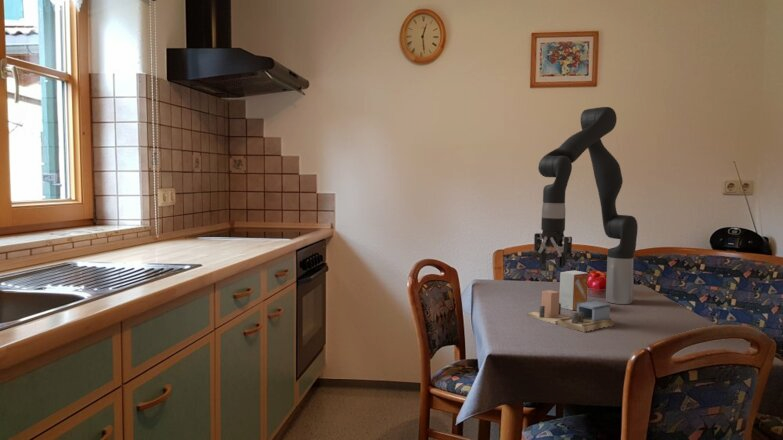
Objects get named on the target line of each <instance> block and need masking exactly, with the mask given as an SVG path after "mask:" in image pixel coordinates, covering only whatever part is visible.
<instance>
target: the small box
mask: <svg viewBox="0 0 783 440" xmlns="http://www.w3.org/2000/svg"><path fill="white" fill-rule="evenodd" d="M559 275H560V277H559V292H560V293H559V303H560V304H561V308H562V309H565V310H570V311H577V303H582V302H587V301H588V290H589V288H588V286H589V273H588V272H586V271H585V272H584V271H581V270H580V271H579V270H568V271H561V272H560V274H559Z"/></svg>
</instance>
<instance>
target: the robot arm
mask: <svg viewBox="0 0 783 440" xmlns="http://www.w3.org/2000/svg"><path fill="white" fill-rule="evenodd" d="M617 119H618V118H617V113H616V111H615V109H614V108H612V107H610V106H601V107H594V108H593V107H592V108H587V109H584V110H583V111H582V113H581V114H580V128H581V130H579V131H578V132H576V133H574V134H573V135H570V137H568V138H567V139H565V141H564V142H563V143H561V144H560V146H558V147H557V148H555V149H553V150H552V151H549V152H547V153H546V154H545V155H544V156H543V157H542V158H541V159H540V160H539V162H538V166H537V167H538V169H537V170H538V172H539V173H540V175H541V176H542V177H544V178H554V182H553V183H551V184H547V185H545V186H544V187H543V193H542V207H541V224H540V226H541V227H540V229H541V231H542V233H541V232H537V233H534V237H533V239H534V240H533V241H534V242H533V243H534V251H535V252H538V255H539V256H538V257H539V259H538V261H539V264H540V265H542V266H543V265H544V266H545V265H546V264H547V253H546V252H548V250H549V248H553V249H555V251H556V252H557V254H558V258H557V259H558V260H557V268H560V269H564V268H565V266H566V257H567V256H570V255H572V248H573V247H572V246H573V237H572V236H565V235H564V234H565V233H564V232H565V231H566V190H567V187H568V184H569V180H570V177H571V174H572V169H573V165H572V164H573V163H574V162H576V161H577V160H578V158H580V157H581V156H582V155H583V153H585V151H586V150H588V152H589V156H590V161H591V165H592V169H593V175H594V180H595V184H596V185H595V186H596V187H597V188H596V189H597V191H598V192H597V193H598V196H599V197H598V199H599V203H600V207H601V208H600V209H601V217H602V218H601V219H602V226H603V231H604V234H605V235H606V237H608V238H609V239H615V240H619V244H618V245H617V246H614V247H610V248H609V249H608V250H607V255H606V256H607V257H606V261H607V262H606V282H605V283H606V284H605V302H607V303H610V304H611V303H612V304H615V305H616V304H617V305H629V304H630V305H631V304H632V302H634V285H635V284H634V256H635V251H636V248H637V238H638V228H639V227H638V221H637V218H636V217H635V216H633V215H629V214H628V215H625V214H618V212H617V206H616V204H617V203H616V201H617V198H618V196H619V193H620V191H621V188H622V186H623V180H624V179H623V174H622V170H621V166H620V164H619V162H618V160H617V159H616V158H615V156H613V154H612V153H611V152H610V151H609V150H607V148H606V147H605V145H604V144H603V141H602V138H603V137H604V136H606V135H607V134H609V133H611V132H612V131H613V130H614V129H615V127H616V126H617V125H616V124H617Z"/></svg>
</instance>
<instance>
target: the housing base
mask: <svg viewBox="0 0 783 440" xmlns="http://www.w3.org/2000/svg"><path fill="white" fill-rule="evenodd" d="M613 325H614V326H615V320H613V319H612V318H609V319H605V320H600V321H596V322H592V316H589V317H585V318H584V312H577V311H576V312H572V313H571V316H570V317H566V318H561V320H558V324H557V326H561V327H564V328H568V329H572V330H574V329H575V330H574V331H578V330H579V332H581V331H582V333H587V332H591V331H590V330H592V331H595V330H594V329H596V330H599V328H601V329H604V328H603V327H605V328H609V327H613ZM608 326H609V327H608ZM586 331H587V332H586Z"/></svg>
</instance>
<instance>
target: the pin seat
mask: <svg viewBox="0 0 783 440" xmlns="http://www.w3.org/2000/svg"><path fill="white" fill-rule="evenodd" d="M561 310H562V309H561V304H560V303H559V316H555V317H548V316H544V314H545V306H541V305H539V310H537V311H532V312H527V313H526V316H527V317H529V318H533V319H536V320H540V321H543V322H545V323H546V322H547V323H551V324H553V325H558V320H561V318H566V317H571V316H569V315H567V314H562V313H561V312H562V311H561Z"/></svg>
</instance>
